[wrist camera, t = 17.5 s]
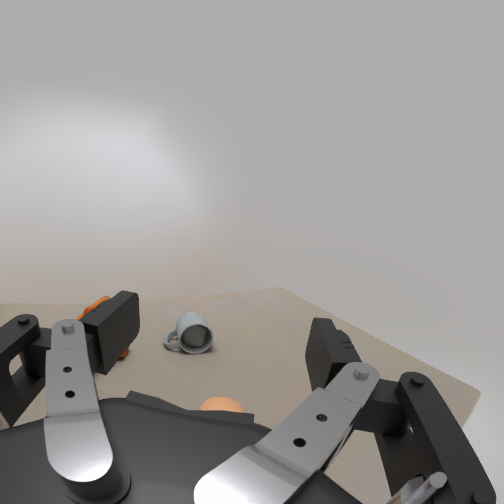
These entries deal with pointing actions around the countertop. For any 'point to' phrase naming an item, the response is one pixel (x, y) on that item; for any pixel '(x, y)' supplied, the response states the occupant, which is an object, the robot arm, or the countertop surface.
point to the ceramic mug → (190, 334)
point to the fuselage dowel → (222, 404)
